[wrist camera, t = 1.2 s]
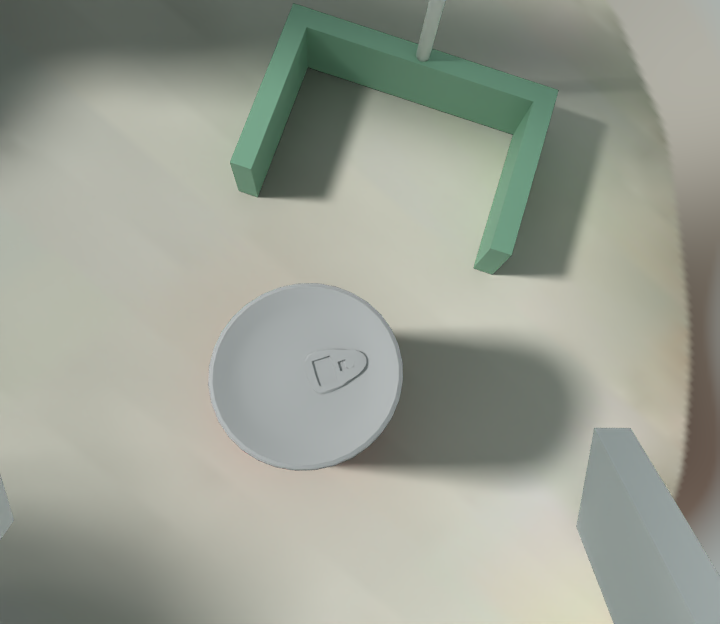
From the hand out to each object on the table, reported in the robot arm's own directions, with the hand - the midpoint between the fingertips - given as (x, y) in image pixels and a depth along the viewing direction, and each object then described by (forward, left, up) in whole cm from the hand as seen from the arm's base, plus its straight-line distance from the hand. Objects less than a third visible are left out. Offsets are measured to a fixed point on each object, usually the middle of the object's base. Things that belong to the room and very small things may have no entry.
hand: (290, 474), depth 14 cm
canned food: (-1, +3, -23) cm, 23 cm away
